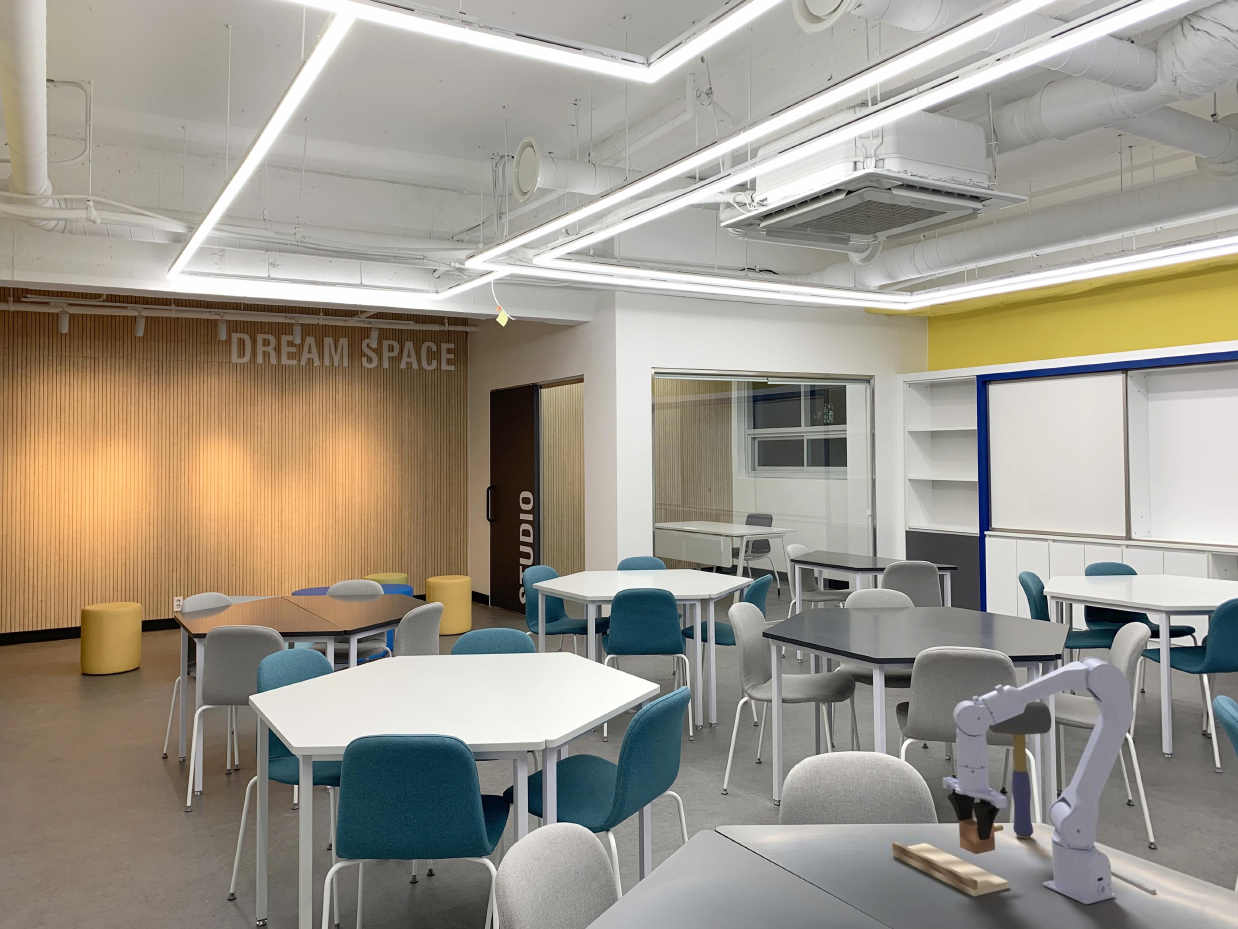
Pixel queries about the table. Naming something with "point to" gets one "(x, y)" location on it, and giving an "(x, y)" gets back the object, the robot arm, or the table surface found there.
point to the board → (950, 869)
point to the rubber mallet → (1023, 759)
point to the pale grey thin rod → (1133, 881)
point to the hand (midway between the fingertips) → (975, 835)
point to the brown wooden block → (976, 837)
